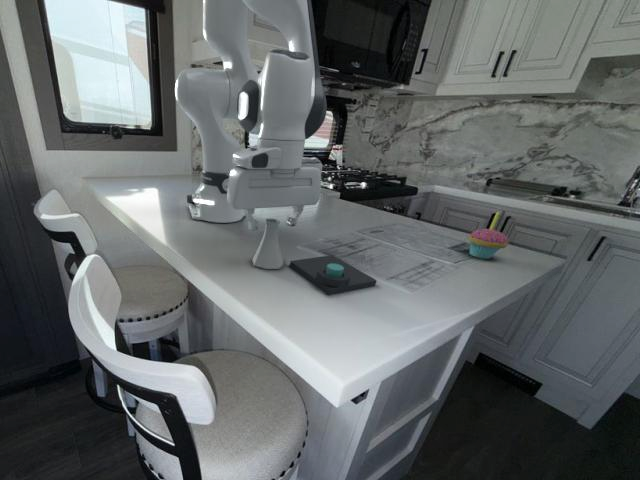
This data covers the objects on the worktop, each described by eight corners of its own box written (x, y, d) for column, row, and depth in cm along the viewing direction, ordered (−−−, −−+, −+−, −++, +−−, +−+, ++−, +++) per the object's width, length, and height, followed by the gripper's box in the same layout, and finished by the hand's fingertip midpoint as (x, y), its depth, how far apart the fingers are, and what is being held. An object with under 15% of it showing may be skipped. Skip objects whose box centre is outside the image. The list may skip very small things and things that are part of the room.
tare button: (322, 272, 61) (323, 264, 60) (334, 270, 62) (336, 262, 61) (332, 279, 59) (334, 271, 58) (345, 277, 60) (347, 269, 59)
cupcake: (458, 247, 86) (477, 204, 80) (493, 253, 84) (515, 209, 78) (466, 258, 79) (488, 212, 73) (504, 264, 77) (530, 217, 71)
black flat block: (289, 266, 69) (291, 254, 68) (331, 260, 74) (334, 248, 72) (328, 296, 58) (331, 282, 57) (375, 286, 63) (379, 273, 61)
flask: (282, 272, 66) (288, 227, 61) (249, 267, 68) (252, 223, 62) (284, 259, 73) (290, 217, 67) (254, 255, 74) (258, 214, 69)
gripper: (314, 155, 65) (304, 220, 72) (224, 154, 57) (223, 227, 64) (333, 158, 60) (320, 228, 67) (238, 158, 52) (235, 236, 59)
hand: (272, 227), depth 65 cm, fingers open, 8 cm apart
